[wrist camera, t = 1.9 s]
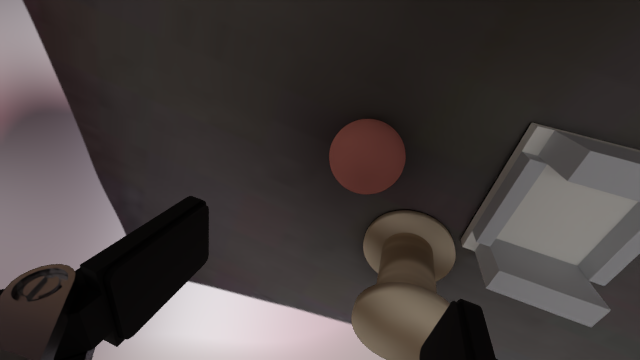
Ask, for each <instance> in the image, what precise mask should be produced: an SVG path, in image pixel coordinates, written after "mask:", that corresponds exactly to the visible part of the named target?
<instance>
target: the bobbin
mask: <svg viewBox="0 0 640 360" xmlns="http://www.w3.org/2000/svg"><path fill="white" fill-rule="evenodd" d="M363 251H364V255H365V257H366V260H367V261H368V263H369V265H370V266H371V267H372V268H373V269H374V270H375V271H376V272H377V273H378V278H377V284H376V285H373V286H371V287H369V288H367V289H365V290H364V291H363V292H362V293H360V295H359V296H358V297H357V299H356V301H355V304H354V308H353V312H352V319H351V320H352V326H353V329H354V331H355V334H356V335H357V337H358V338H359V339H360V341H361V342H362V343H363V344H364V345H365V346H366V347H368V349H370V350H371V351H372V352H374V353H375V354H377V355H379V356H380V357H382V358H384V359H386V360H419V356H420V350H421V347H422V345H423V343H424V342H425V340H426V339H427V338H428V336H429V335H430V333H431V332H432V330H433V329H434V327H435V326H436V324H437V323H438V321H439V320H440V318H441V317H442V315H443V314H444V312H445V311H446V309H447V308H448V306H449V305H450V303H448V302H447V301H446V300H445V299H444V298H442V297H441V296H439V295H438V294H437V292H436V281H438V280H440V279H442V278H443V277H445V276H446V275H447V274H448V273H449V272H450V270H451V269H452V267H453V265H454V262H455V257H456V253H455V246H454V242H453V239H452V236H451V234H450V233H449V231H448V230H447V229H446V227H445V226H444V225H443V224H441V223H440V222H439V221H438V220H436V219H435V218H433V217H431V216H429V215H426V214H424V213H420V212H417V211H410V210H399V211H393V212H389V213H386V214H384V215H382V216H380V217H378V218H377V219H376V220H374V221H373V222H372V223H371V224H370V226H369V227H368V229H367V231H366V234H365V238H364V242H363Z"/></svg>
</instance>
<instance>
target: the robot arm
mask: <svg viewBox="0 0 640 360" xmlns="http://www.w3.org/2000/svg"><path fill="white" fill-rule="evenodd" d="M208 255H209V209H208V206H206V202H205V201H203V200H201V199H198V198H196V197H193V196H189V197H187V198H185V199H183V200H182V201H180V202H179V203H177V204H176V205H174V206H172V207H171V208H169V209H168V210H166V211H164V212H163V213H161V214H160V215H158V216H157V217H155V218H153V219H152V220H150V221H149V222H147V223H146V224H144V225H142V226H141V227H139V228H138V229H136V230H134V231H133V232H131V233H130V234H128V235H127V236H125V237H123V238H122V239H120V240H119V241H117V242H116V243H114V244H113V245H111V246H109V247H108V248H106V249H104V250H103V251H101V252H100V253H98V254H97V255H95V256H93V257H92V258H90V259H89V260H87V261H86V262H84V263H82V264H81V265H80V268H79V269H77V270H76V271H74V269H73V268H71V267H70V266H67V265H63V264H51V265H46V266H41V267H38V268H35V269H32V270H30V271H28V272H26V273H24V274H22V275H20V276H19V277H17V278H16V279H14V280H13V281H12V282H11V283H10V284H9V285H8V286H7V287H6V288H5V289H2V290H0V360H92V357H93V353H94V350H95V347H96V346H97V345H98V344H99V343H100V342H101V341H102V340H105V341H107V342H109V343H111V344H113V345H114V346H116V347H117V346H118V345H120V344H121V343H122V342H123V341H124V340H125V339H129V338H131V337H132V336H134V335H135V334H136V333H137V332H138V331H139V330H140V329H141V327H143V325H145V324H146V323H147V321H149V319H151V318H152V317H153V315H154V314H155V313H156V312H157V311H158V310H159V309H160V308H161V307H162V306H163V305H164V304H165V303H166V302H167V301H168V300H169V299H170V298H171V297H172V296H173V295H174V294H175V293H176V292H177V291H178V290H179V289H180V288H181V287H182V286H183V285H184V284H185V283H186V282H187V281H188V280H189V279H190V278H191V277H192V276H193V275H194V274H195V273H196V272H197V271H198V270H199V269H200V268H201V267H202V266H203V265H204V264H205V263H206V261H207V259H208ZM419 360H498V359H496V358H495V354H494V351H493V347H492V343H491V340H490V336H489V333H488V329H487V325H486V322H485V318H484V315H483V311H482V308H481V307H480V306H478V305H476V304H473V303H471V302H468V301H465V300H463V299H460V300H458V301H457V302H455V301H452V302H451V303H450V305H449V306H448V308H447V309H446V311H445V312H444V314H443V315H442V317H441V318H440V320H439V321H438V323H437V324H436V326H435V327H434V329H433V330H432V332H431V333H430V335H429V336H428V338H427V339H426V340H425V342H424V343H423V345H422V347H421V350H420V356H419Z"/></svg>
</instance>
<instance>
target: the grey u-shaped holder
mask: <svg viewBox="0 0 640 360" xmlns="http://www.w3.org/2000/svg"><path fill="white" fill-rule="evenodd" d="M460 240H461V244H462V247H464V248H467V249H470V250H473V251H475V254H476V257H477V261H478V264H479V267H480V271H481V274H482V277H483V281H484V284H485V287H486V289H489V290H492V291H494V292H497V293H500V294H503V295H505V296H508V297H511V298H513V299H516V300H519V301H521V302H524V303H527V304H530V305H532V306H535V307H538V308H540V309H543V310H546V311H548V312H551V313H554V314H556V315H559V316H562V317H565V318H567V319H570V320H573V321H575V322H578V323H581V324H583V325H586V326H589V327H592V326H593V325H594V324H596V323H597V322H598V321H599V320H600V319H601V318H603V317H604V316H605V315H606V314H607V313H609V312H610V311H611V310H610V308H609V307H608V306H607V304H606V303H605V302H604V300H603V299H602V298H601V296H600V295H599V294H598V293H597V291H596V290H595V289H594V287H593V286H592V285H591V283H590V282H589V281H591V282H594V283H597V284H600V285H603V286H605V285H606V284H607V283H608V282H609V281H610V280H612V279H613V278H614V277H615V276H616V275H617V274H618V273H619V272H620V271H621V270H622V269H623V268H625V267H626V266H627V265H628V264H629V263H630V262H631V261H632V260H633V259H634V258H635V257H636V256H638V255H639V254H640V150H637V149H633V148H629V147H625V146H622V145H618V144H614V143H610V142H606V141H602V140H598V139H594V138H590V137H587V136H583V135H579V134H575V133H571V132H567V131H563V130H559V129H555V128H552V127H548V126H544V125H540V124H536V123H531V124H530V126H529V128H528V129H527V131H526V133H525V134H524V136H523V137H522V139H521V141H520V142H519V144H518V146H517V147H516V149H515V151H514V152H513V154H512V156H511V157H510V159H509V160H508V162H507V164H506V165H505V167H504V169H503V170H502V172H501V174H500V175H499V177H498V179H497V180H496V182H495V184H494V185H493V187H492V188H491V190H490V192H489V193H488V195H487V197H486V198H485V200H484V202H483V203H482V205H481V207H480V208H479V210H478V212H477V213H476V215H475V216H474V218H473V220H472V221H471V223H470V225H469V226H468V228H467V230H466V231H465V233H464V235H463V236H462V238H461V239H460Z"/></svg>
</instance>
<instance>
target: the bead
mask: <svg viewBox="0 0 640 360" xmlns="http://www.w3.org/2000/svg"><path fill="white" fill-rule="evenodd" d="M405 160H406V154H405V147H404V143H403V141H402V139H401V137H400V136H399V134H398V133H397V132H396V131H395V130H394V129H393V128H392V127H391V126H390V125H388V124H386V123H384V122H382V121H379V120H375V119H361V120H357V121H353V122H351V123H349V124H348V125H346V126H345V127H343V128H342V129H341V130H340V131H339V132H338V133H337V135H336V136H335V138H334V139H333V142H332V144H331V147H330V152H329V162H330V167H331V170H332V173H333V175H334V176H335V178H336V179H337V181H338V182H339V183H340V184H341V185H342V186H343V187H345V188H346V189H348V190H350V191H352V192H355V193H358V194H375V193H379V192H382V191H384V190H386V189H387V188H389V187H390V186H392V185H393V184H394V183H395V182H396V181H397V179H398V178H399V176H400V175H401V173H402V171H403V168H404V165H405Z"/></svg>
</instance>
